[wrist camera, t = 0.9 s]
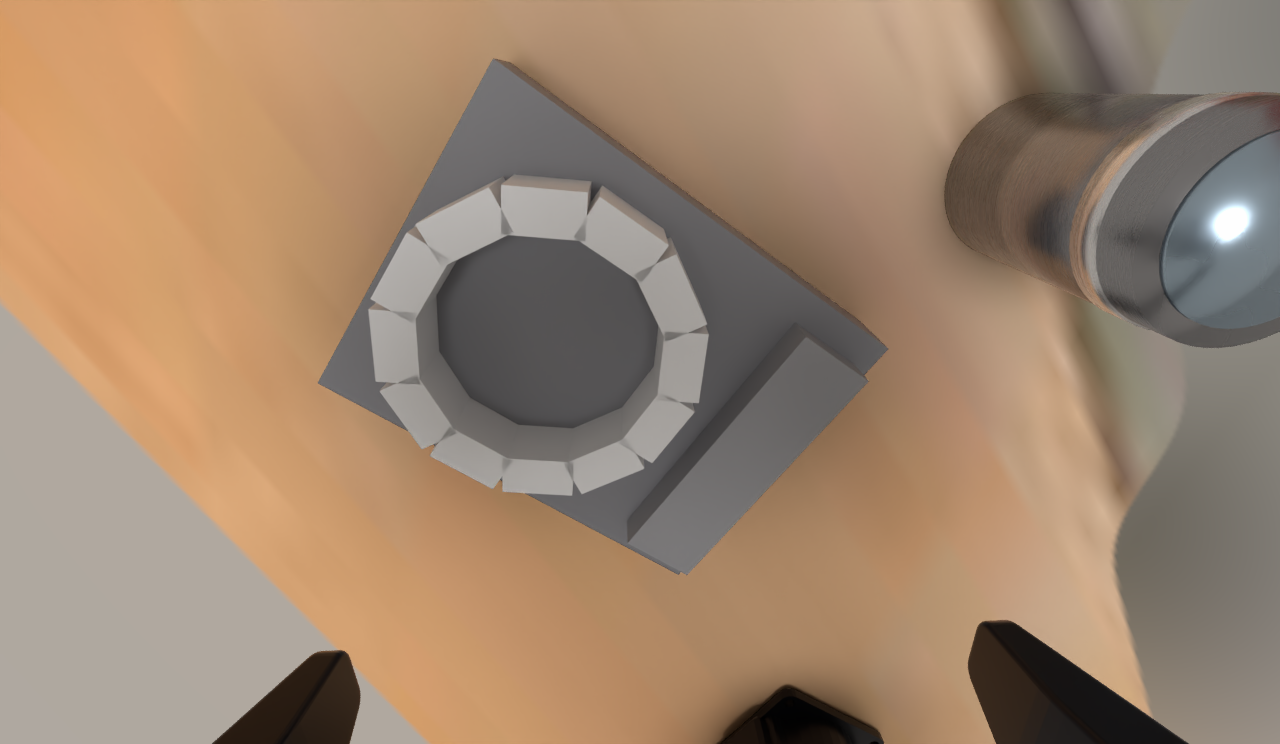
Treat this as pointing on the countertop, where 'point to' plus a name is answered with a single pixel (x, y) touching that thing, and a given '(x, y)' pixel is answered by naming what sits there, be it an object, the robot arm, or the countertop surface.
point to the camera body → (594, 333)
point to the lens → (1134, 205)
